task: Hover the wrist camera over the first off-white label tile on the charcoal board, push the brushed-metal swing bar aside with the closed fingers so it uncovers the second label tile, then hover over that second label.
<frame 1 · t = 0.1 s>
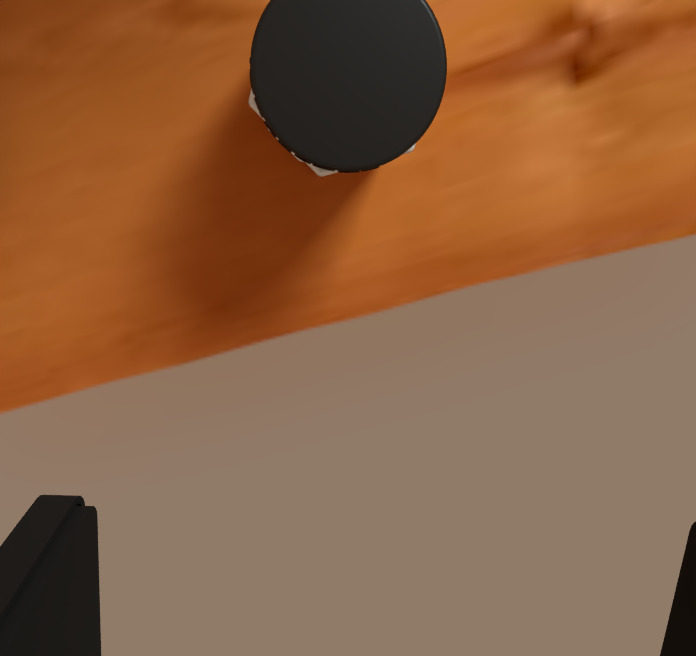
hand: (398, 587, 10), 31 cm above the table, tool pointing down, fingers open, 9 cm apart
jar: (333, 96, 38), on the table
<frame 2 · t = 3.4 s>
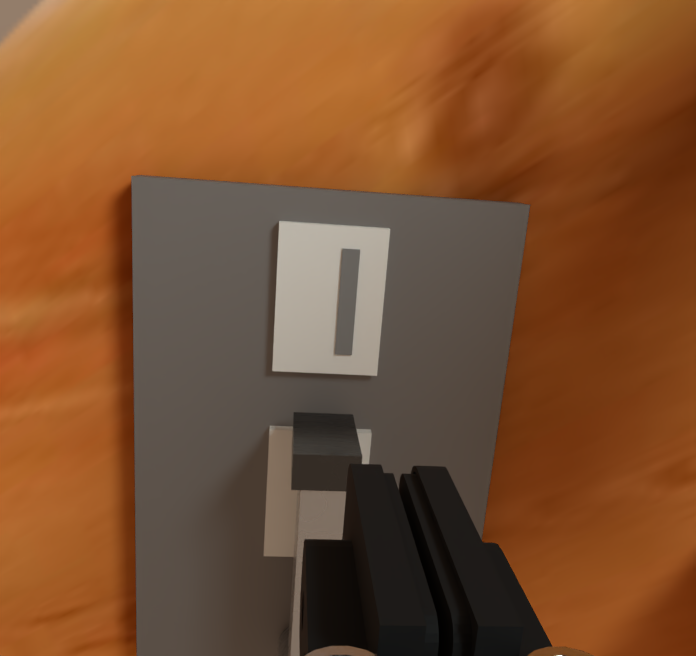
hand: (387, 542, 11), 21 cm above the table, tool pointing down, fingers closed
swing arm: (314, 576, 30), point 5 cm above the table, hinge at 0.0°
label board: (317, 442, 33), on the table
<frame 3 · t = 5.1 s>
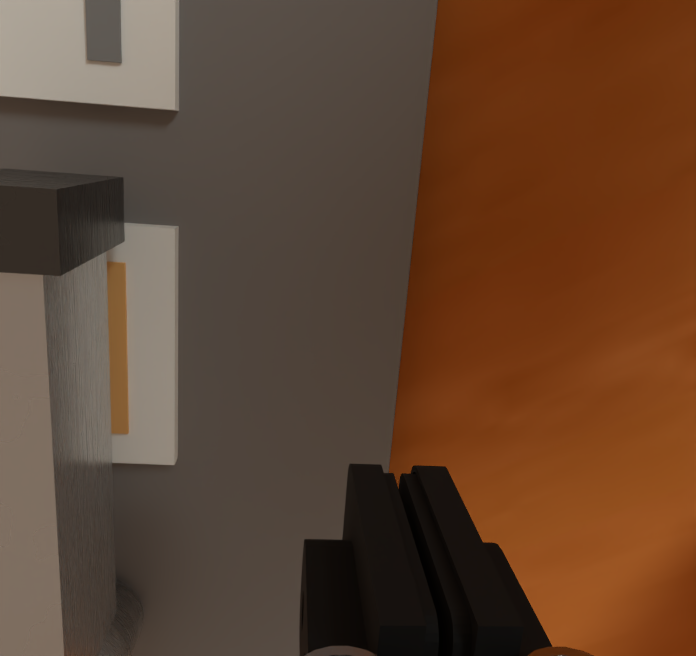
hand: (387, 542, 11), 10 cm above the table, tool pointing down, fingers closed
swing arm: (54, 486, 16), point 4 cm above the table, hinge at 0.0°
label board: (103, 264, 19), on the table
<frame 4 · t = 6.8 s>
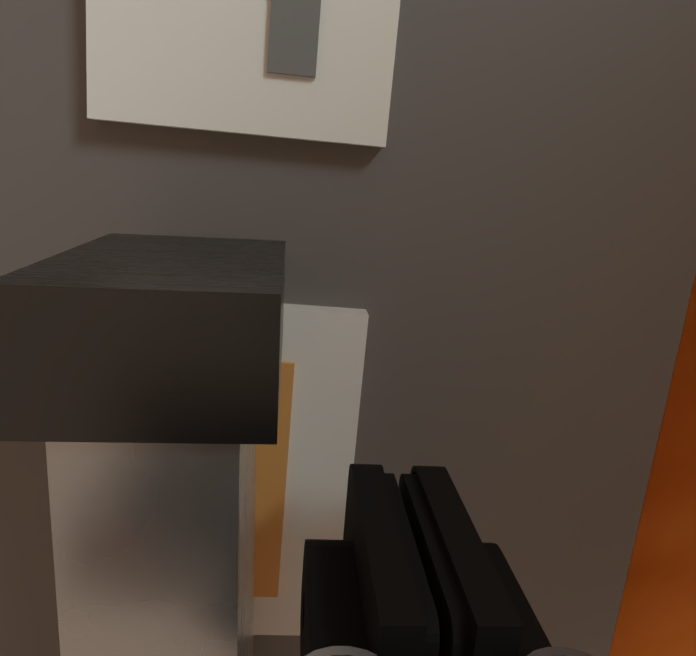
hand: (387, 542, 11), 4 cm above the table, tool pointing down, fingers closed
label board: (237, 353, 14), on the table
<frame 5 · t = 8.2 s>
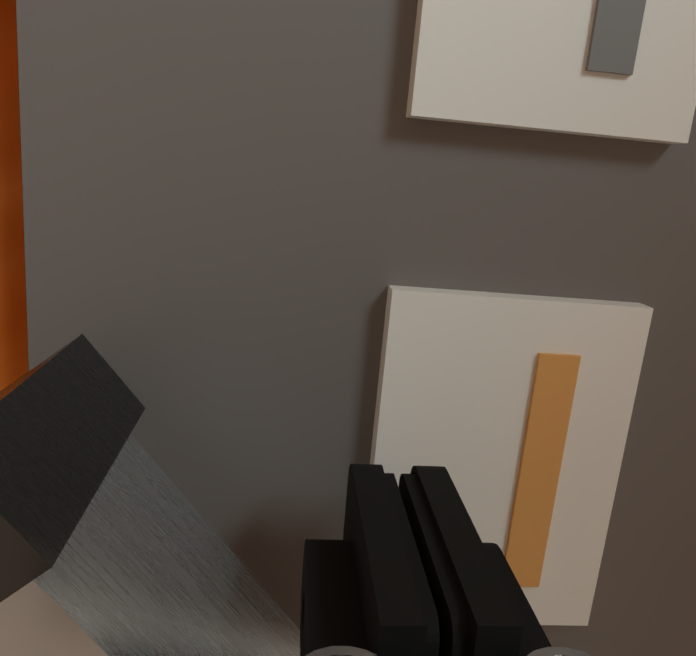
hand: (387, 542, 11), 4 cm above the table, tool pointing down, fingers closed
label board: (482, 347, 14), on the table
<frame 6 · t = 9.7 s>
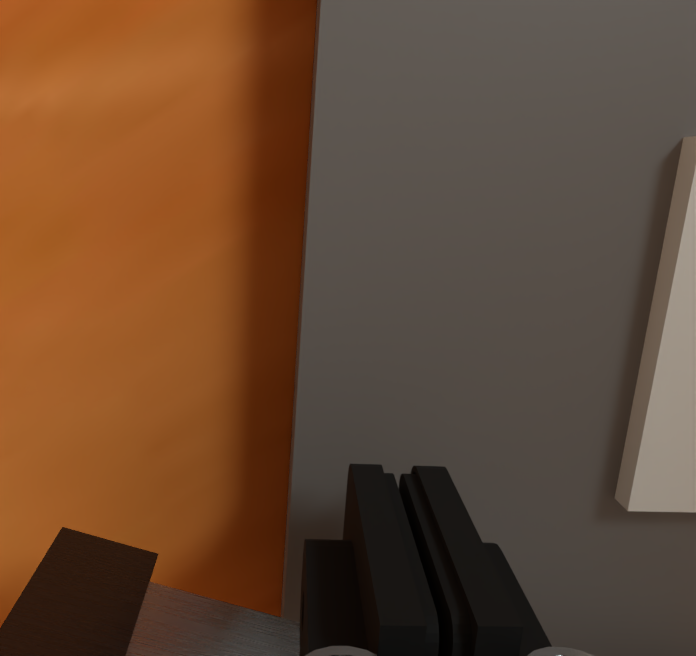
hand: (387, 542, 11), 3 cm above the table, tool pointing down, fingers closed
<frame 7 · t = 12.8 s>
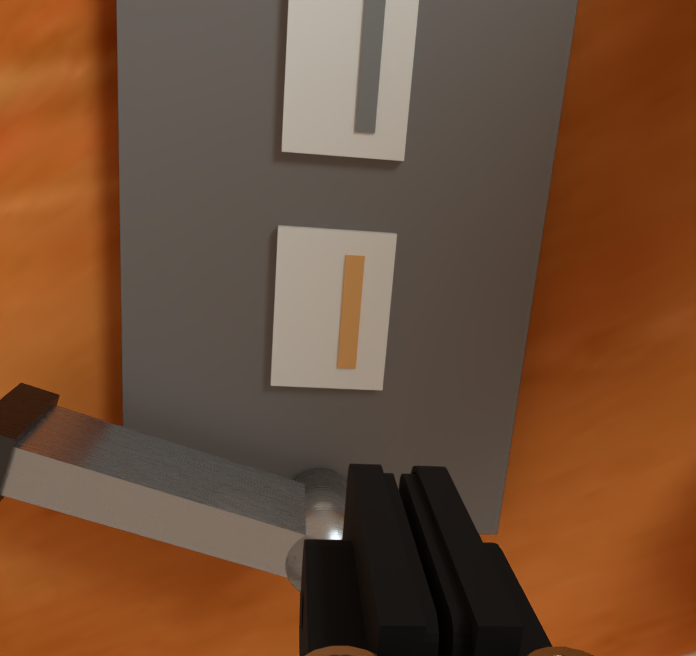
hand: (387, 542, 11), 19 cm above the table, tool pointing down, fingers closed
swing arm: (182, 486, 26), point 5 cm above the table, hinge at 72.6°
label board: (332, 258, 29), on the table
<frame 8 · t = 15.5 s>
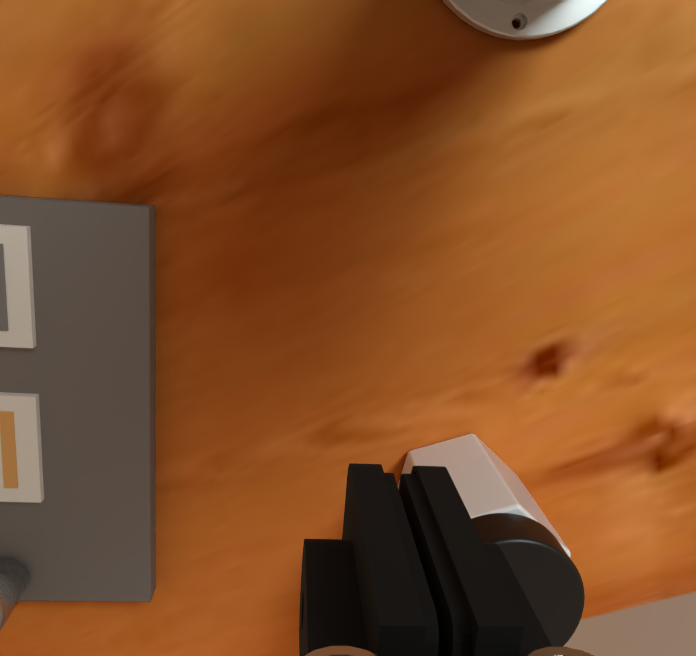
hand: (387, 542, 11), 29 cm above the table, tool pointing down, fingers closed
label board: (7, 406, 40), on the table
jar: (451, 489, 44), on the table
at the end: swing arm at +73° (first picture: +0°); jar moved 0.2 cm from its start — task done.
